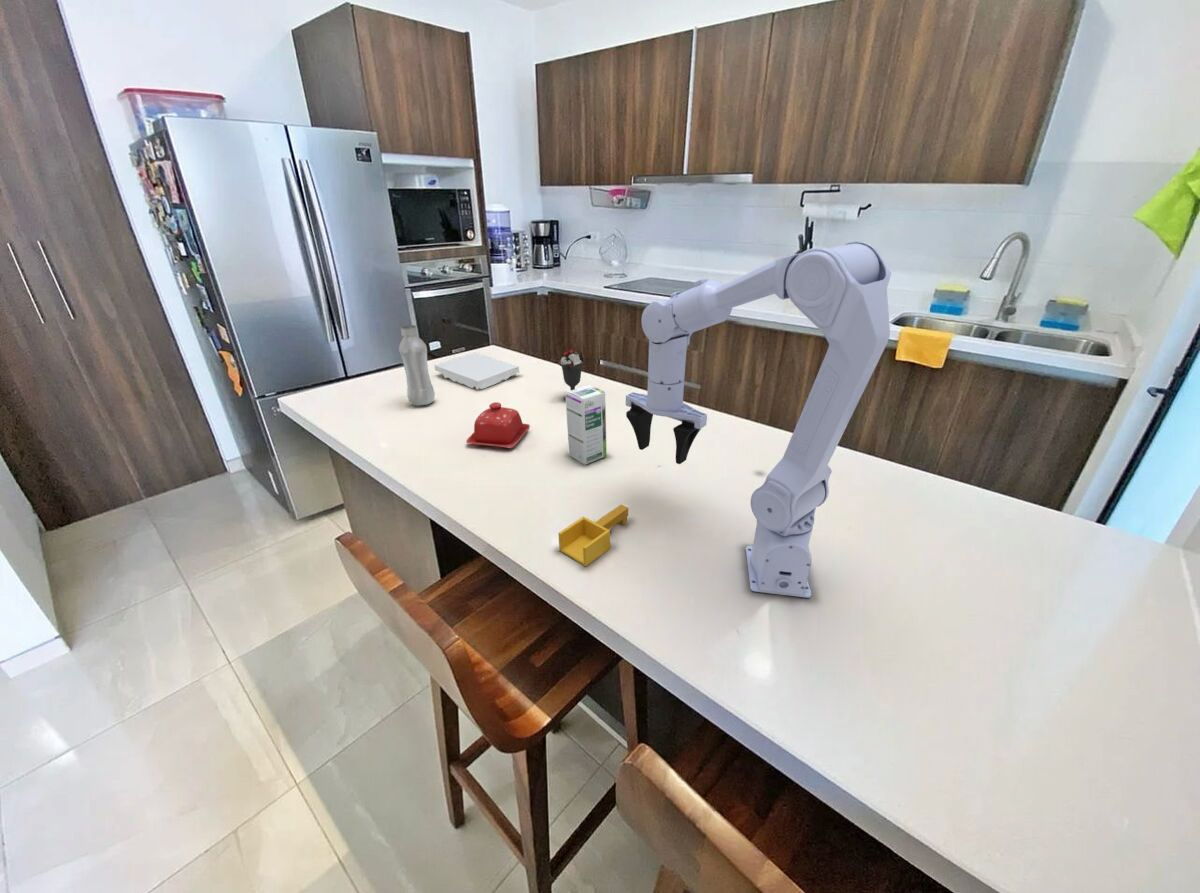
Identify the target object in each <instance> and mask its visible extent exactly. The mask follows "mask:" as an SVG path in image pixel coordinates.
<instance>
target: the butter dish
mask: <svg viewBox="0 0 1200 893" xmlns="http://www.w3.org/2000/svg"><path fill="white" fill-rule="evenodd" d="M530 427H531V425H530V424H528V423H524V422H523V420H522V418H521V414H520V413H519V411H518V410H517V409H514V408H510V407H504V406H503V407H502V403H500V402H498V401H496V402H491V403H490V404H489V408H487V409H485V410H483V411H482V412H481V413H480V414H478V416H477V417H476V419H475V420H474V425H473V433H471V435H470V436H469V437H468V438H467V439H466V444H469V445H478V446H489V447H490V446H491V447H499V448H513V447H515V446H516V445H517V443H518V442H520V440H521V439H522V437H523V436H524V435H525V434H526V432H528V430H529V428H530Z"/></svg>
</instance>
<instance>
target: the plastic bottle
mask: <svg viewBox="0 0 1200 893" xmlns="http://www.w3.org/2000/svg"><path fill="white" fill-rule="evenodd" d="M400 335H401V336H402V339H401V341H400V342H399V344H398V352H399V355H400V358H401V361H402V364H403V367H404V372H405V377H406V386H407V387H406V388H407V389H406V394H407V399H408V401H409V403H410V404H411V405H413V406H426V405H429V404H431V403H433V402H434V400H435V398H436V396H435V394H436V393H435V389H434V386H433V384H432V380H431V377H430V373H429V365H428V347H427V344H426V343H425V342H424V340H423V339H422V338H421V337H419V336H418V335H419V331H418V327H417V325H412V324H409V325H403V326H400Z"/></svg>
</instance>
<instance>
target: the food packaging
mask: <svg viewBox="0 0 1200 893" xmlns="http://www.w3.org/2000/svg"><path fill="white" fill-rule="evenodd" d="M434 370H435V371H436V372H438V373H441V374H442V376H443V378H444V379H450V381H452V382H454V383H455V382H457V383H458V384H461V385H465V386H466V387H467V388H470V389H476V390H477V391H479V390H483V389H486V388H489V387H490V386H494V385H496V384H499V383H501V382H502V381H507V380H508V379H509V378H510V377H511V376H515V375H517V374H519V373H520V366H519V365H516V364H513V363H510V362H507V361H504V360H501V359H497V358H495V357H491V356H489V355H486V354H483V353H479V352H476V351H474V352H471V353H468V354H465V355H461V356H459V357H456V358H455V357H454V358H452V359H449V360H445V361H443V362H439V363H437V364H434Z"/></svg>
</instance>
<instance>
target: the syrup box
mask: <svg viewBox="0 0 1200 893" xmlns="http://www.w3.org/2000/svg"><path fill="white" fill-rule="evenodd" d="M564 393H565V396H566V401H565V411H566V428H567V441H568V442H567V443H568V455H569V456H570V457H572V458H573V459H574V460H576V461H578V462H579V463H581V464H583V465H584V466H587V465H588V464H590V463H593V462H595V461H598V460H600V459H604V458H606V457H607V415H606V413H607V412H606V409H607V408H606V392H605V391H604V390H602V389H600V388H598V387H595V386H593V385H589V384H587V385H585V386H581V387H577V388H575V389H574V390H567V391H565V392H564ZM565 396H564V397H565Z"/></svg>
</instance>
